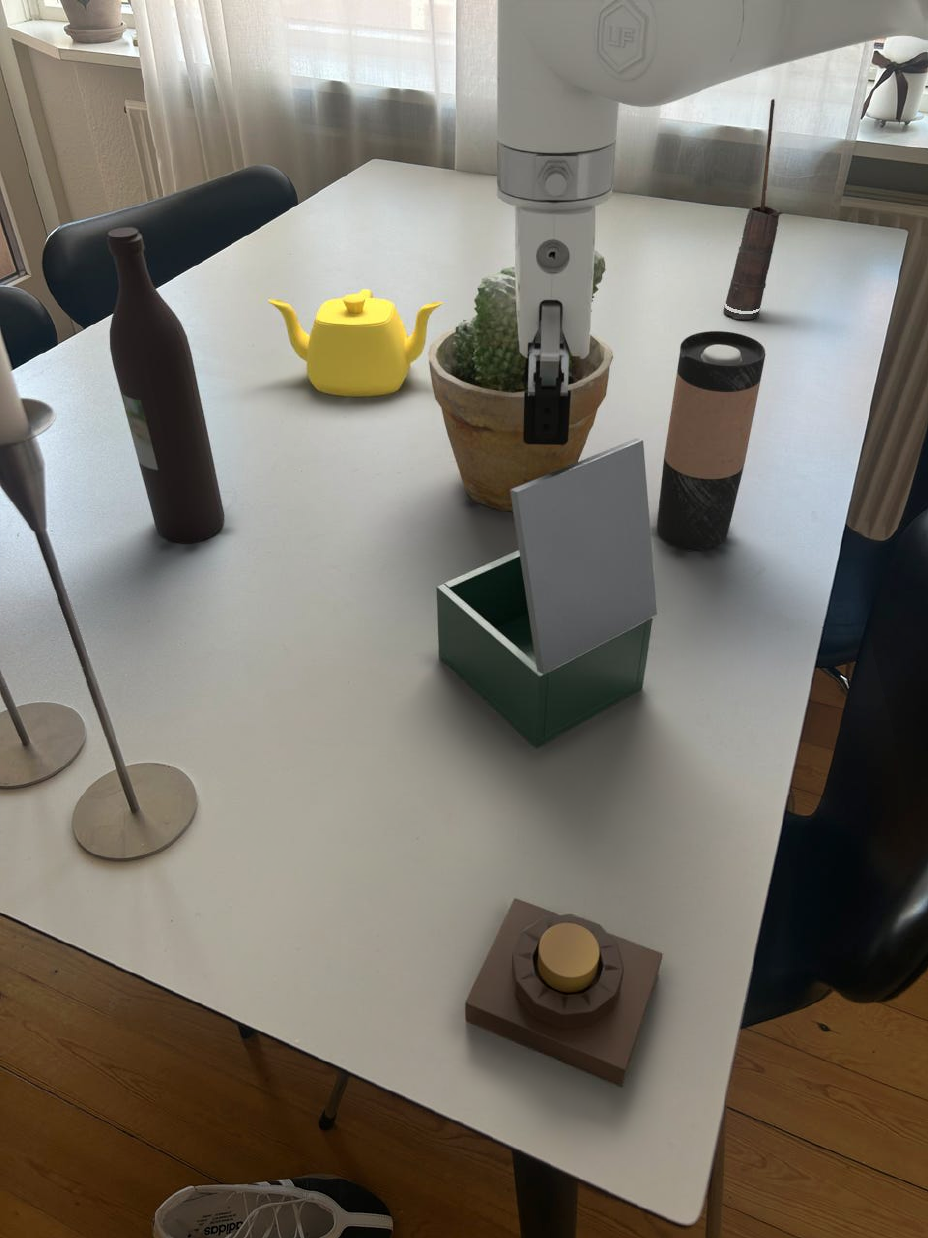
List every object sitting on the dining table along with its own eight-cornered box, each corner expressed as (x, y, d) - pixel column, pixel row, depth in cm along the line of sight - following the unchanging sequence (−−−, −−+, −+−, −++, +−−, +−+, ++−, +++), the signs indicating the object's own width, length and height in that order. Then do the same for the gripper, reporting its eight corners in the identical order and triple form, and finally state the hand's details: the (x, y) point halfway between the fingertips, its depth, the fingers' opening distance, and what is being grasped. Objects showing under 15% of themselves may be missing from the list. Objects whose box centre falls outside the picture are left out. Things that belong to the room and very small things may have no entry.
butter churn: (794, 322, 139) (841, 107, 121) (738, 332, 137) (777, 114, 119) (757, 299, 146) (796, 92, 128) (703, 308, 143) (735, 99, 125)
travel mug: (744, 532, 99) (784, 347, 86) (699, 563, 95) (734, 374, 82) (683, 502, 103) (712, 322, 90) (638, 531, 99) (662, 347, 86)
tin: (438, 656, 85) (435, 586, 80) (540, 606, 90) (544, 538, 85) (535, 749, 76) (539, 677, 71) (642, 688, 82) (653, 617, 77)
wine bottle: (175, 503, 104) (105, 216, 85) (236, 510, 103) (179, 221, 84) (144, 540, 99) (63, 243, 80) (208, 548, 98) (141, 248, 78)
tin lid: (509, 489, 65) (516, 491, 64) (635, 437, 70) (643, 439, 69) (536, 671, 71) (543, 674, 71) (650, 611, 77) (657, 614, 76)
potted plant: (538, 553, 97) (550, 311, 81) (396, 494, 105) (381, 265, 89) (629, 475, 108) (655, 248, 92) (494, 427, 116) (496, 213, 100)
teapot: (449, 349, 133) (447, 270, 127) (440, 401, 122) (437, 318, 115) (292, 346, 135) (282, 268, 128) (268, 397, 123) (255, 315, 116)
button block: (659, 972, 62) (666, 937, 59) (622, 1088, 56) (628, 1055, 54) (513, 916, 65) (515, 881, 62) (465, 1021, 59) (464, 987, 57)
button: (605, 951, 59) (607, 935, 58) (586, 1002, 56) (588, 987, 55) (549, 930, 60) (551, 914, 59) (528, 979, 58) (529, 963, 56)
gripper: (621, 211, 55) (600, 470, 66) (607, 136, 69) (591, 362, 80) (490, 211, 56) (491, 468, 67) (501, 136, 69) (500, 361, 80)
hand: (545, 410), depth 73 cm, fingers open, 9 cm apart
